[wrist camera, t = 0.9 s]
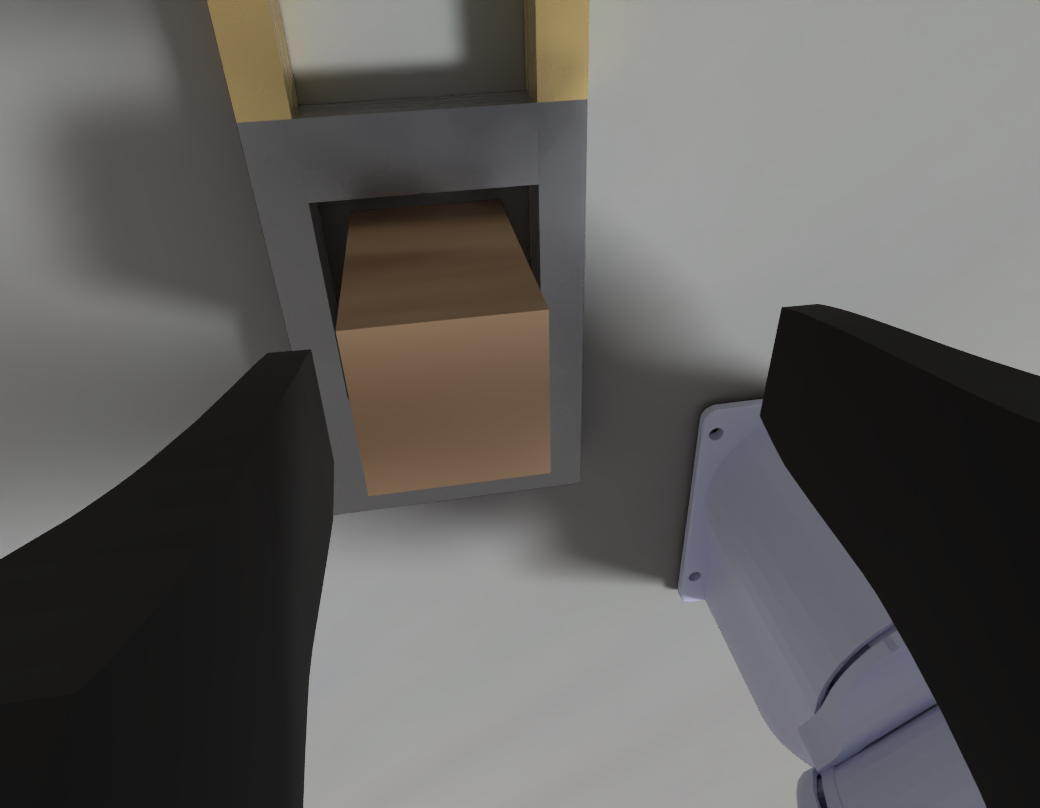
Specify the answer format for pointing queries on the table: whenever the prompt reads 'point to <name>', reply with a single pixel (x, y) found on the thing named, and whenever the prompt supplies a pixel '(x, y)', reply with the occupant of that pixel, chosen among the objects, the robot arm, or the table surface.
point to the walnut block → (443, 347)
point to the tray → (417, 170)
